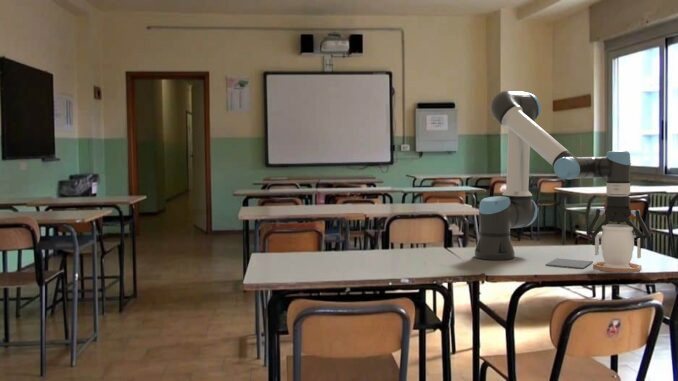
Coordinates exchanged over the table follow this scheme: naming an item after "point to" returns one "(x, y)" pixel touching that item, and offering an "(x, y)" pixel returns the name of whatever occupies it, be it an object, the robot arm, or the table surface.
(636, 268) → the brown wooden ring
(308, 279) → the table surface
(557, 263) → the mat
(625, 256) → the jar
